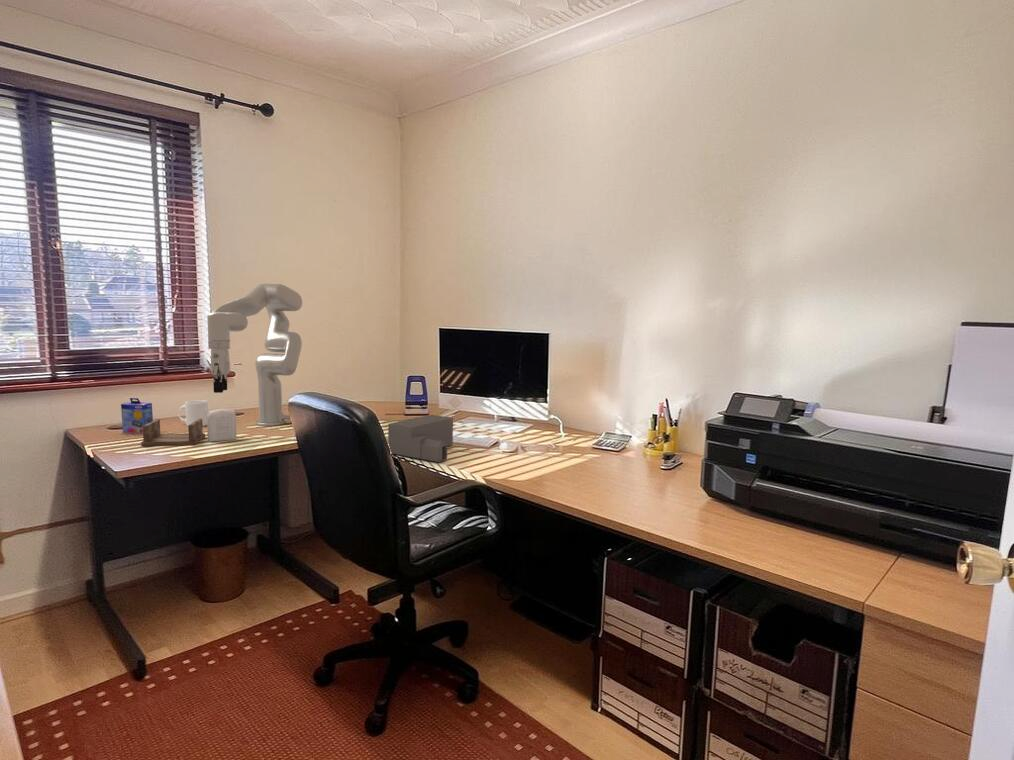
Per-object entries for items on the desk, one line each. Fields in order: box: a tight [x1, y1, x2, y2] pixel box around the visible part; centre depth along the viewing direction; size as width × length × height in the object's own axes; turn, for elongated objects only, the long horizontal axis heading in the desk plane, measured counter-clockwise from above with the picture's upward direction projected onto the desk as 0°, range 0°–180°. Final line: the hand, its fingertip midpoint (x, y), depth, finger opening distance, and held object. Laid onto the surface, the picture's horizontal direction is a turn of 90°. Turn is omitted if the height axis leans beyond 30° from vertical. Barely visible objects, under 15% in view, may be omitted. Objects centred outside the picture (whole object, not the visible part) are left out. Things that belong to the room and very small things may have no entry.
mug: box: [177, 399, 209, 427], centre depth 249 cm, size 9×12×11 cm
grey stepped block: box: [387, 414, 454, 463], centre depth 217 cm, size 25×23×11 cm
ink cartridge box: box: [120, 397, 154, 434], centre depth 233 cm, size 10×6×14 cm, turn 87°
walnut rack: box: [140, 418, 206, 447], centre depth 220 cm, size 14×18×8 cm
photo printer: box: [206, 408, 237, 443], centre depth 224 cm, size 10×4×12 cm, turn 125°
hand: (220, 390), depth 222 cm, fingers open, 6 cm apart
